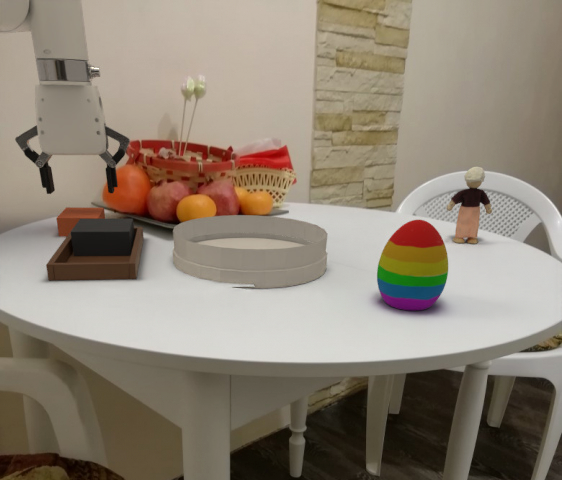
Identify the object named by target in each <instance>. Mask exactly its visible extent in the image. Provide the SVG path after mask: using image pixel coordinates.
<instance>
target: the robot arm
mask: <svg viewBox="0 0 562 480" xmlns="http://www.w3.org/2000/svg"><path fill="white" fill-rule="evenodd" d="M83 11H84V10H83V3H82V0H0V34H14V33H15V34H16V33H25V32H26V33H27V32H28V33H29V32H30V33H31V39H32V46H33V52H34V58H35V65H36V71H37V76H38V84H34V106H35V108H34V109H35V120H36V124H35V125H34V126H33V127H31V128H30V129H28V130H26V131H24V132H22V133H21V134H19V135H17V136H16V137H15V139H14V141H15V142H16V144H17V146H18V147H19V149H21V151H22V152H23V154H24V156H25V157H26V158H27V159H28V160H29V161H31V162H32V163H33V164H34V165H35V166H36V168H38V171H39V176H40V177H39V178H40V181H41V186H42V188H43V189H45V192H46V194H47V195H51V194H53V193H55V190H56V189H55V183H54V175H53V171H52V170H53V169H52V166H50V165H49V161H50V160H51V158H52V157H53V156H98V157H100V158H101V160H103V161H104V163H105V164H106V167H105V176H106V177H105V178H106V184H107V185H106V186H107V193H109V194H114V193H115V188H118V186H119V184H118V176H117V165H118V164H119V162H120V161H122V159H123V158H124V157H125V156H126V153H127V151H128V148H129V145H130V143H131V138H130V136H127V135H125V134H123V133H122V132H119V131H118V130H115V129H114V128H112V127H110V126H108V125H107V123H106V117H105V111H104V105H103V102H102V98H101V93H100V89H99V87H98V85H93V84H92V82H93V79H94V78H100V77H101V68H100V66H95V65H92V64H91V62H90V59H89V51H88V44H87V36H86V35H87V34H86V27H85V20H84V12H83ZM36 137H38V143H39V147H40V150H41V153H40V154H39V153H38V152H37V151H35V150H34V149H33V147H32V146H31V145H30V140H33V139H34V138H36ZM109 138H111V139H113V140H114V141H117V142H118V143H119V145H118V149H117V151H116V152H115V153H114V154H112V153H111V152H110V151H109V150H108V149H109Z"/></svg>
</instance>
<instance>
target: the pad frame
mask: <svg viewBox="0 0 562 480" xmlns="http://www.w3.org/2000/svg"><path fill="white" fill-rule="evenodd" d="M73 228H74V227H73ZM71 231H72V230H71ZM134 234H135V240H134V244H133V248H132V252H131V256H74V253H73V246H72V239H71V232H70V233H69V234H68V236H65V238H64V239H63V241H62V242H61V244H60V245H59V247H58V248H56V251H55V252H54V254H53V255H52V256H51V258H50V259H49V260H48V262H47V263H46V265H45V266H46V273H47V278H48V281H49V282H59V281H64V282H65V281H114V280H115V281H118V280H119V281H120V280H137V277H138V272H139V266H140V261H141V257H142V256H141V255H142V251H143V245H144V240H145V237H144V227H143V226H134Z"/></svg>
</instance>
